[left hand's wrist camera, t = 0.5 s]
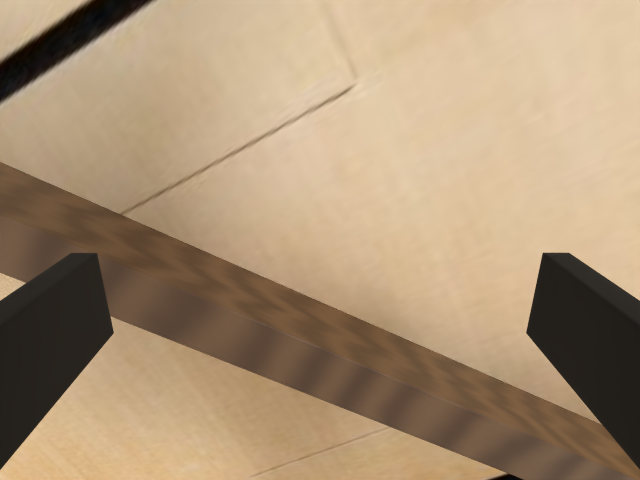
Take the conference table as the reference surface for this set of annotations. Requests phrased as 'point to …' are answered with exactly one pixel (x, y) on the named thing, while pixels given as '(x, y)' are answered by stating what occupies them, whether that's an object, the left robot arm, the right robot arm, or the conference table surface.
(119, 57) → the conference table surface
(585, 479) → the post
